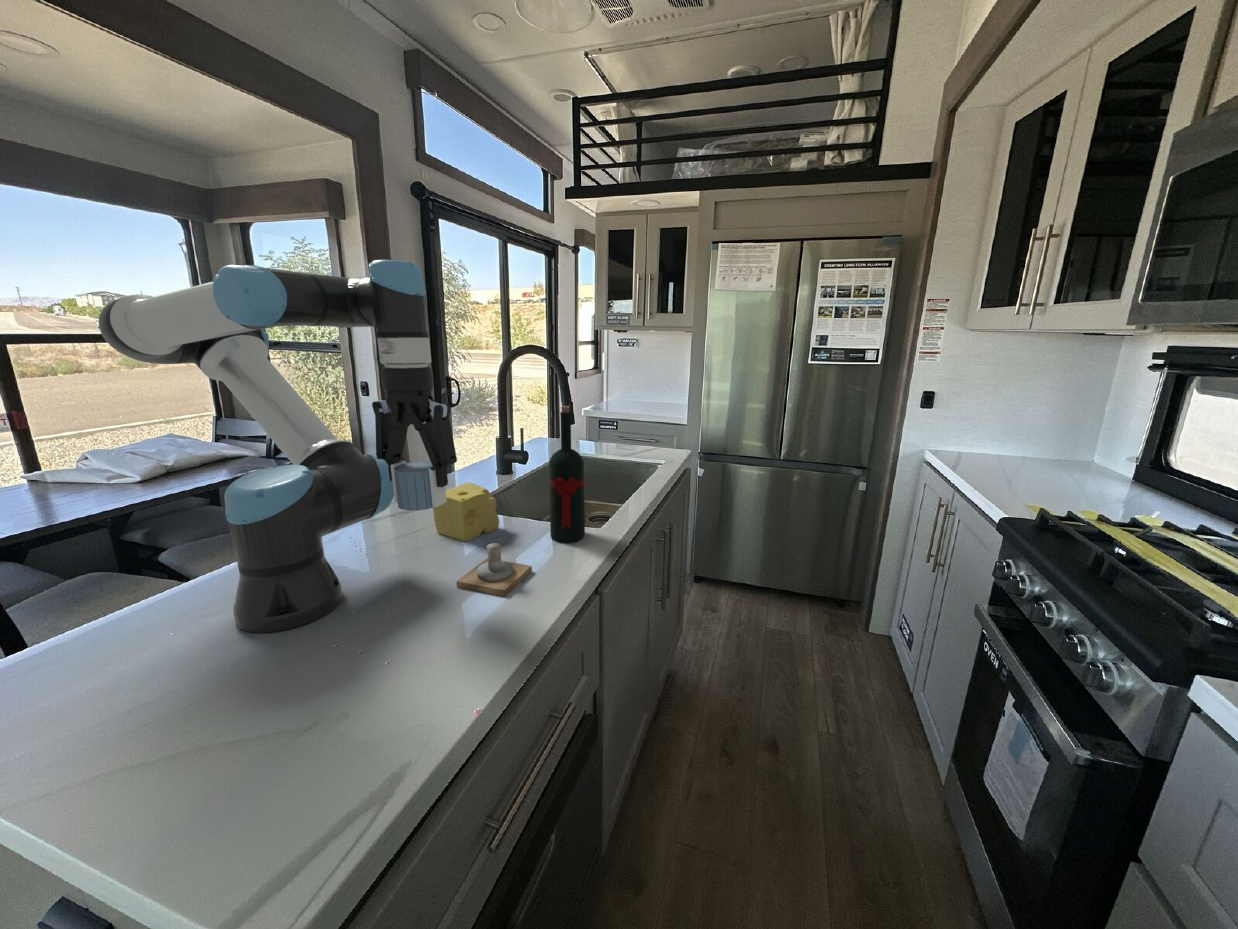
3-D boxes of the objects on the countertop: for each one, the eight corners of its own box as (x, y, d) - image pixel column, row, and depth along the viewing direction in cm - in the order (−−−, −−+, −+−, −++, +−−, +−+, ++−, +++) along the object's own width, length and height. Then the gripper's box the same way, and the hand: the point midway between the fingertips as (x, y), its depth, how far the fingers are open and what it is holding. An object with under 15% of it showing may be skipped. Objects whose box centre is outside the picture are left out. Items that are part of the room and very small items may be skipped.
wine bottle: (548, 548, 106) (544, 411, 98) (551, 529, 116) (548, 403, 108) (584, 547, 107) (583, 411, 99) (585, 529, 116) (584, 404, 109)
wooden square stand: (457, 587, 90) (454, 553, 88) (487, 563, 99) (485, 532, 97) (504, 596, 86) (502, 561, 85) (531, 571, 96) (530, 539, 94)
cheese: (499, 528, 117) (497, 488, 114) (464, 544, 108) (460, 501, 105) (470, 519, 122) (467, 481, 119) (433, 533, 113) (429, 492, 111)
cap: (388, 507, 81) (383, 470, 80) (418, 494, 88) (414, 459, 86) (423, 512, 79) (419, 474, 78) (451, 499, 86) (448, 463, 84)
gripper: (338, 365, 77) (357, 502, 83) (443, 368, 71) (456, 516, 77) (375, 362, 84) (390, 489, 90) (474, 365, 78) (483, 501, 84)
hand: (420, 501), depth 84 cm, fingers closed on cap, 7 cm apart
